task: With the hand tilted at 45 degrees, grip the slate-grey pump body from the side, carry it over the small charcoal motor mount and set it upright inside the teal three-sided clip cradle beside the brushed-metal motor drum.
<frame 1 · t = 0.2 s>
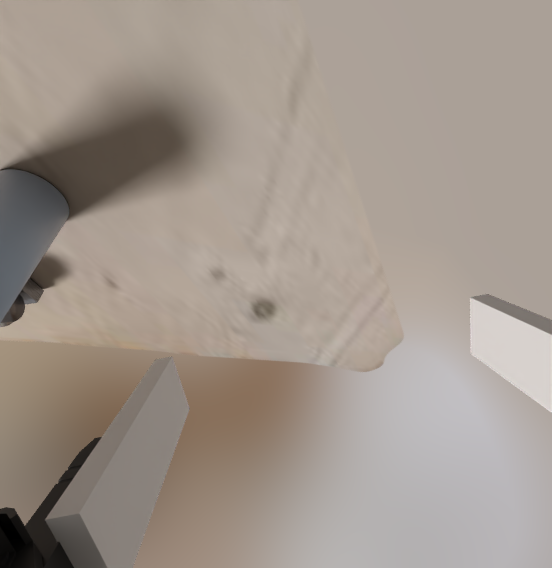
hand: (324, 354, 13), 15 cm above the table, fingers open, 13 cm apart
pump body: (31, 200, 22), on the table
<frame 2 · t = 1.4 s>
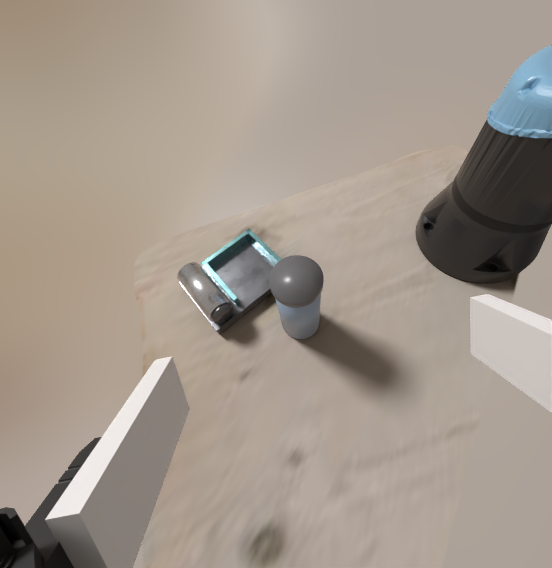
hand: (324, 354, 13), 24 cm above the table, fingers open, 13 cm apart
motor mount: (236, 282, 43), on the table
pump body: (300, 321, 39), on the table
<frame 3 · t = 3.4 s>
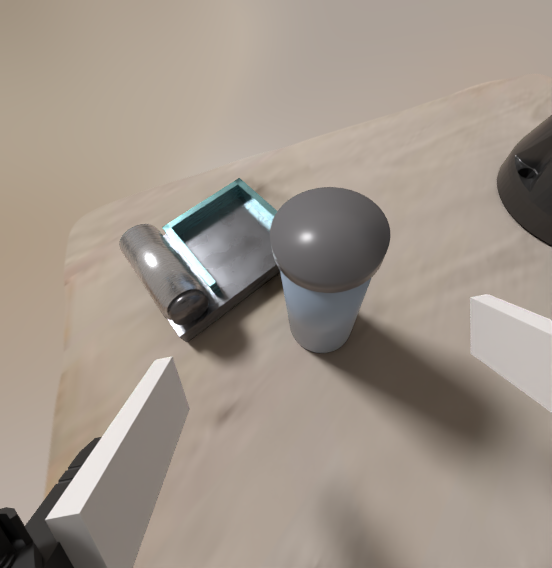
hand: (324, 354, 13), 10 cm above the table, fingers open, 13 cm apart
motor mount: (217, 260, 28), on the table
pump body: (320, 322, 24), on the table
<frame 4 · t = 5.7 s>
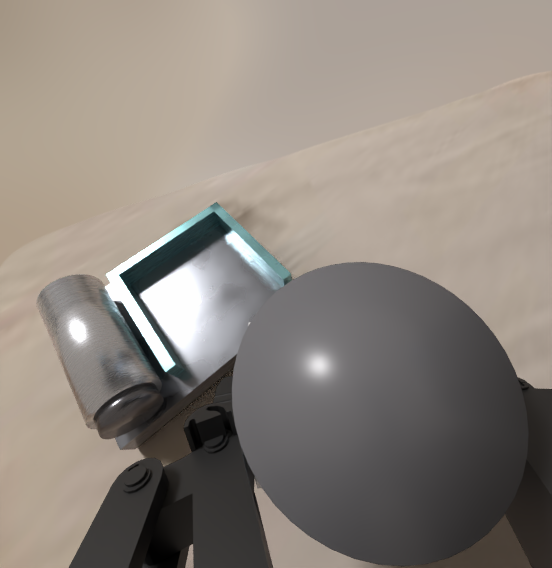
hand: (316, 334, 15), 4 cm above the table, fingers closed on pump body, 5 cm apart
motor mount: (187, 316, 20), on the table
pump body: (331, 420, 16), on the table, touching gripper
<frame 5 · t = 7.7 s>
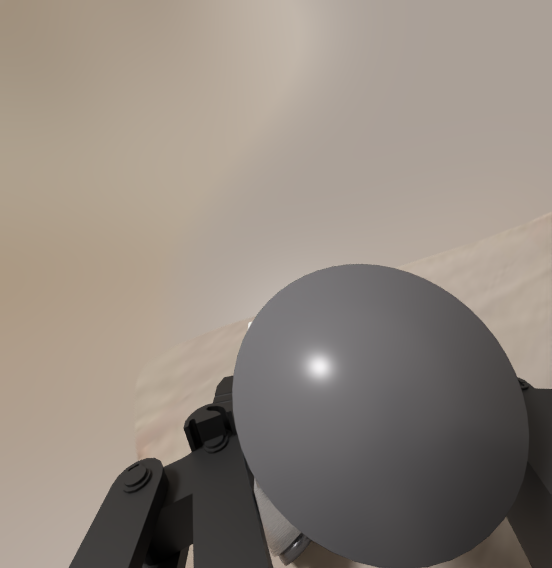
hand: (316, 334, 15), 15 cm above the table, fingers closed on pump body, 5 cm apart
motor mount: (305, 438, 26), on the table
pump body: (331, 421, 16), point 11 cm above the table, touching gripper
when the fingers open (6 cm above the table, at t = 10.2 s): pump body stays where it is, resting on motor mount.
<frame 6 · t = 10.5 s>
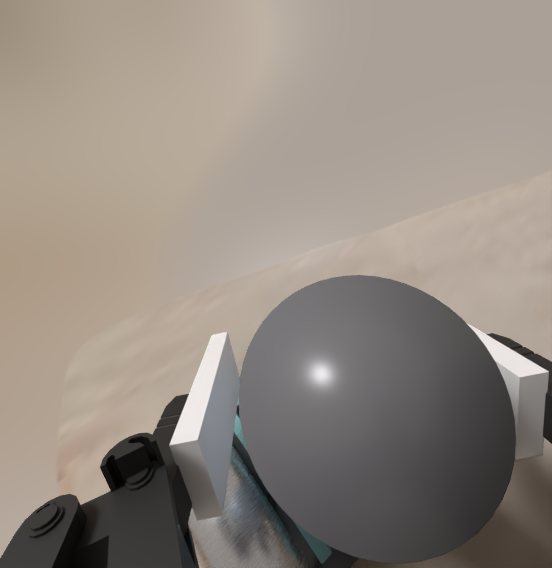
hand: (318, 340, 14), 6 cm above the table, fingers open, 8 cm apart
motor mount: (303, 447, 17), on the table
pump body: (331, 421, 16), point 2 cm above the table, touching motor mount
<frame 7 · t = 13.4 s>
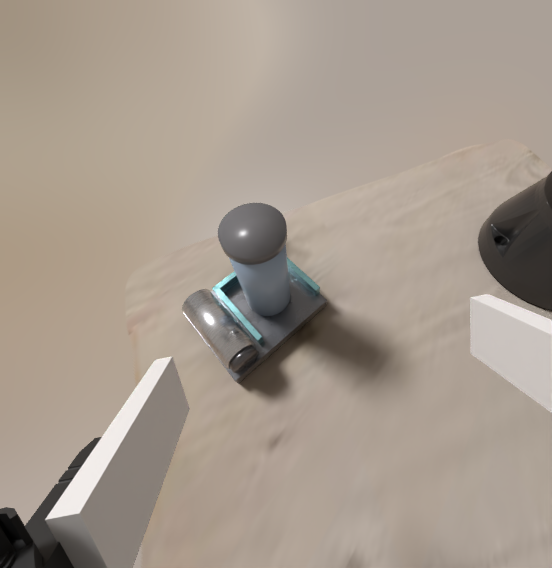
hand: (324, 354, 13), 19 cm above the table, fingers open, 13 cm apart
motor mount: (256, 311, 34), on the table
pump body: (268, 295, 33), point 2 cm above the table, touching motor mount
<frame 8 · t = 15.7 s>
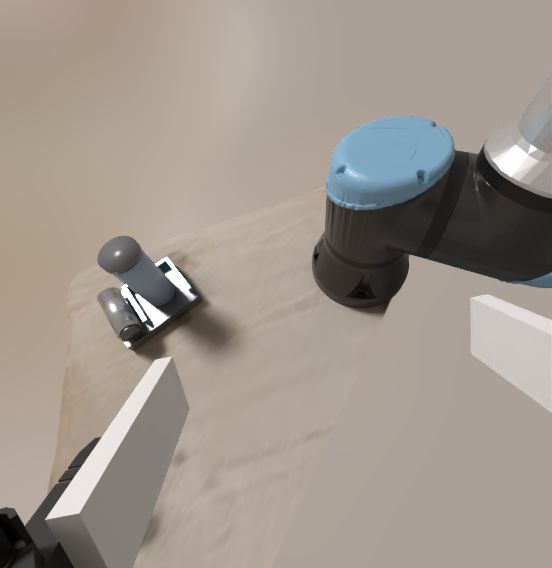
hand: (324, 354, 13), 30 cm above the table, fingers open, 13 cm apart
motor mount: (154, 303, 49), on the table
pump body: (160, 292, 48), point 2 cm above the table, touching motor mount
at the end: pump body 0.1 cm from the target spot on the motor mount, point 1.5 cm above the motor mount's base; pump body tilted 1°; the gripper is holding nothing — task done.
